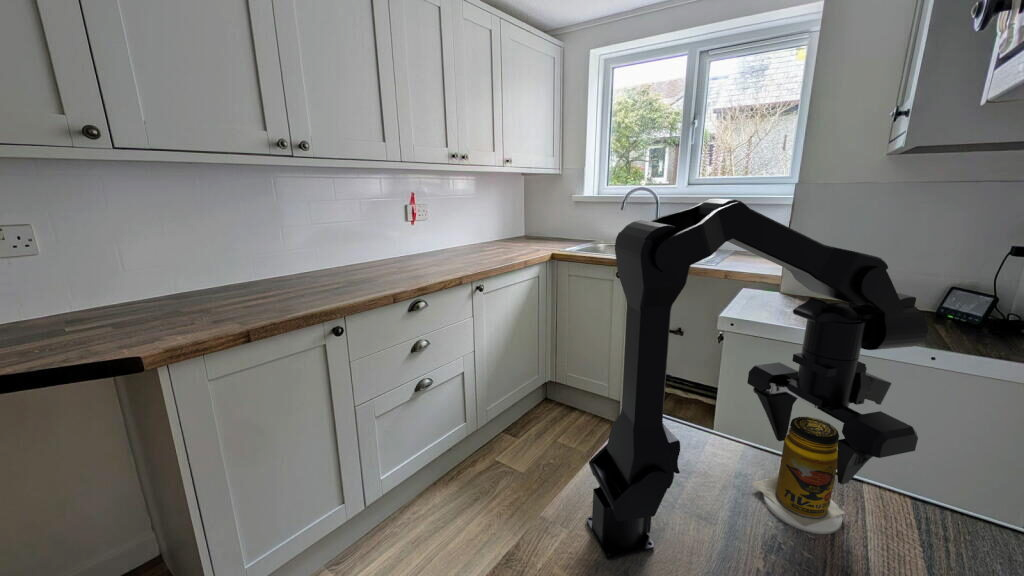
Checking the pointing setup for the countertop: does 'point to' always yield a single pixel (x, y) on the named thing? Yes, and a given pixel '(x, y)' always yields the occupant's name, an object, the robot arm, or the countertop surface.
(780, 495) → the condiment
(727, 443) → the countertop surface
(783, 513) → the coaster
